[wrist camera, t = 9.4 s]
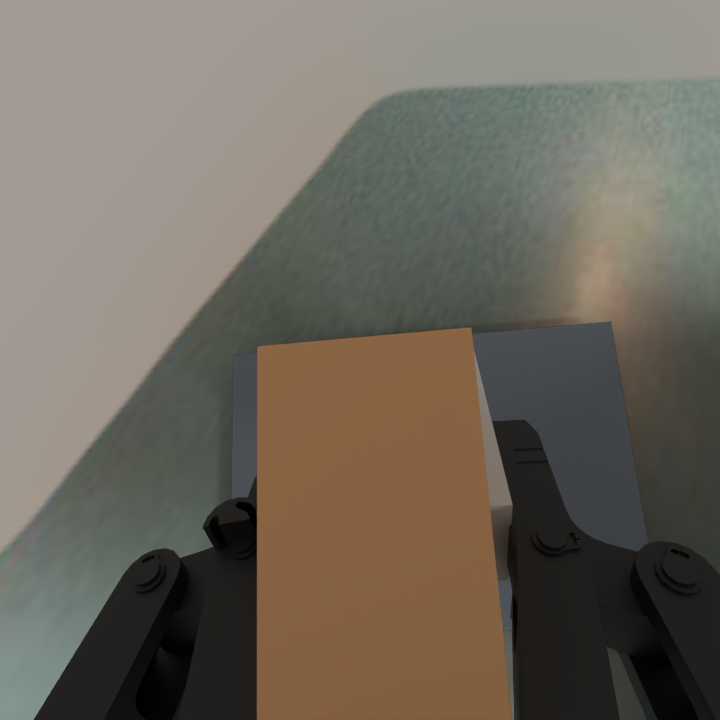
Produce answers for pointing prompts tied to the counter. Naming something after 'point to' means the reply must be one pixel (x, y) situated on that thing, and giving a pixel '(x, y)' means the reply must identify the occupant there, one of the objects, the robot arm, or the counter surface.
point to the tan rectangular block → (375, 533)
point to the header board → (541, 410)
